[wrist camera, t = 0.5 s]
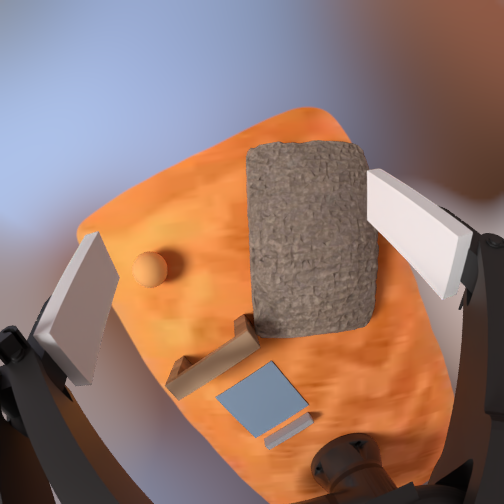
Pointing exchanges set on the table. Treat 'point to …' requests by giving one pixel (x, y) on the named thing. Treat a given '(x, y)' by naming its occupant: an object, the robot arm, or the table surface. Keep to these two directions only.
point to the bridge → (213, 361)
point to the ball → (149, 269)
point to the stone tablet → (310, 238)
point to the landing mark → (262, 400)
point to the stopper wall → (288, 431)
